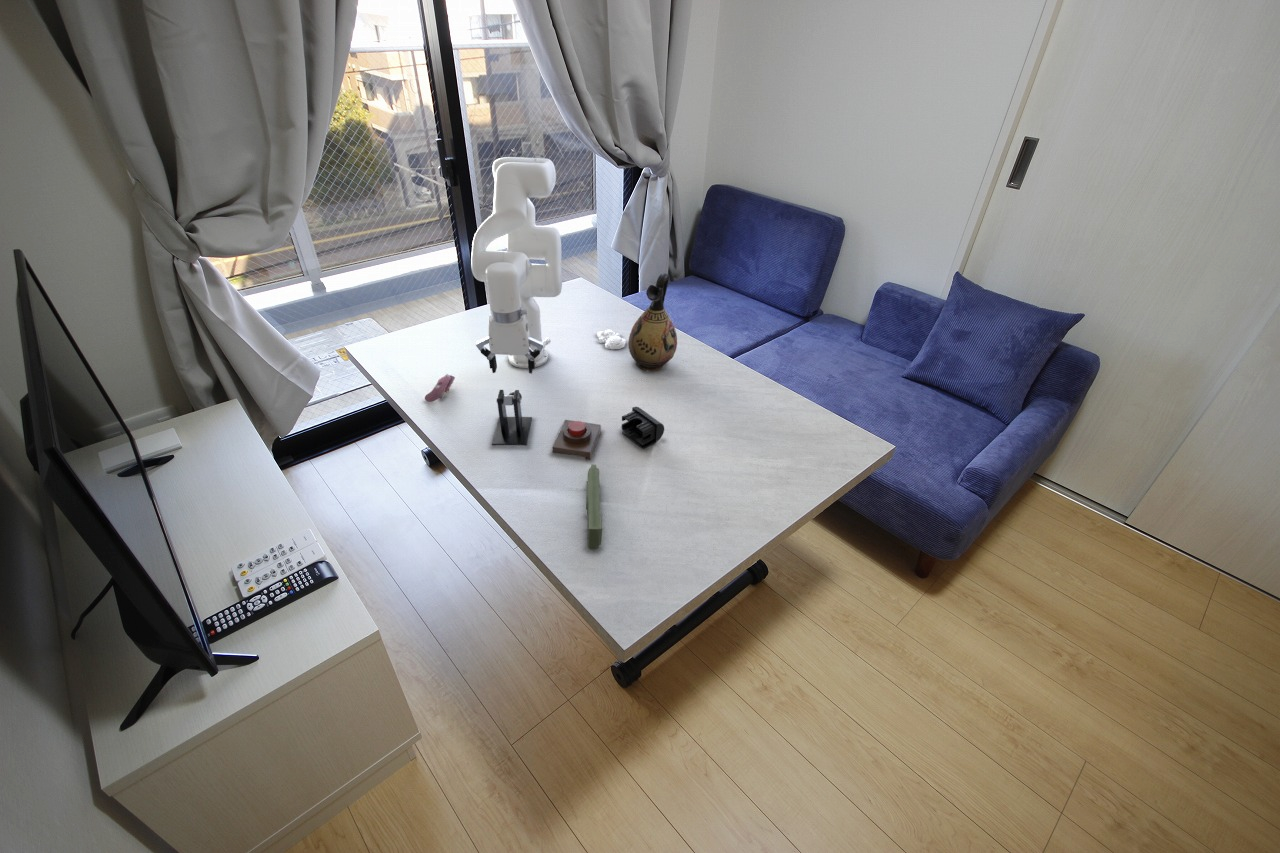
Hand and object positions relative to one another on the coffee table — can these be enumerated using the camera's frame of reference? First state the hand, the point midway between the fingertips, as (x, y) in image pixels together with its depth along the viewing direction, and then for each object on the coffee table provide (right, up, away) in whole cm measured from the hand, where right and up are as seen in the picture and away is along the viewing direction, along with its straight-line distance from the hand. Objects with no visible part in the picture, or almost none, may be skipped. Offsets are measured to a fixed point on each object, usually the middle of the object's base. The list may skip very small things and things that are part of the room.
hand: (512, 370), depth 152 cm
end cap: (+35, -18, +2) cm, 39 cm away
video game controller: (-24, -6, +14) cm, 28 cm away
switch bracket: (0, -17, +1) cm, 17 cm away
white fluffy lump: (+24, +14, +43) cm, 52 cm away
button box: (+17, -20, -1) cm, 26 cm away
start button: (+18, -16, -4) cm, 24 cm away
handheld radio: (+23, -34, -20) cm, 46 cm away
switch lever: (0, -9, -1) cm, 9 cm away
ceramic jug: (+38, +5, +33) cm, 51 cm away
